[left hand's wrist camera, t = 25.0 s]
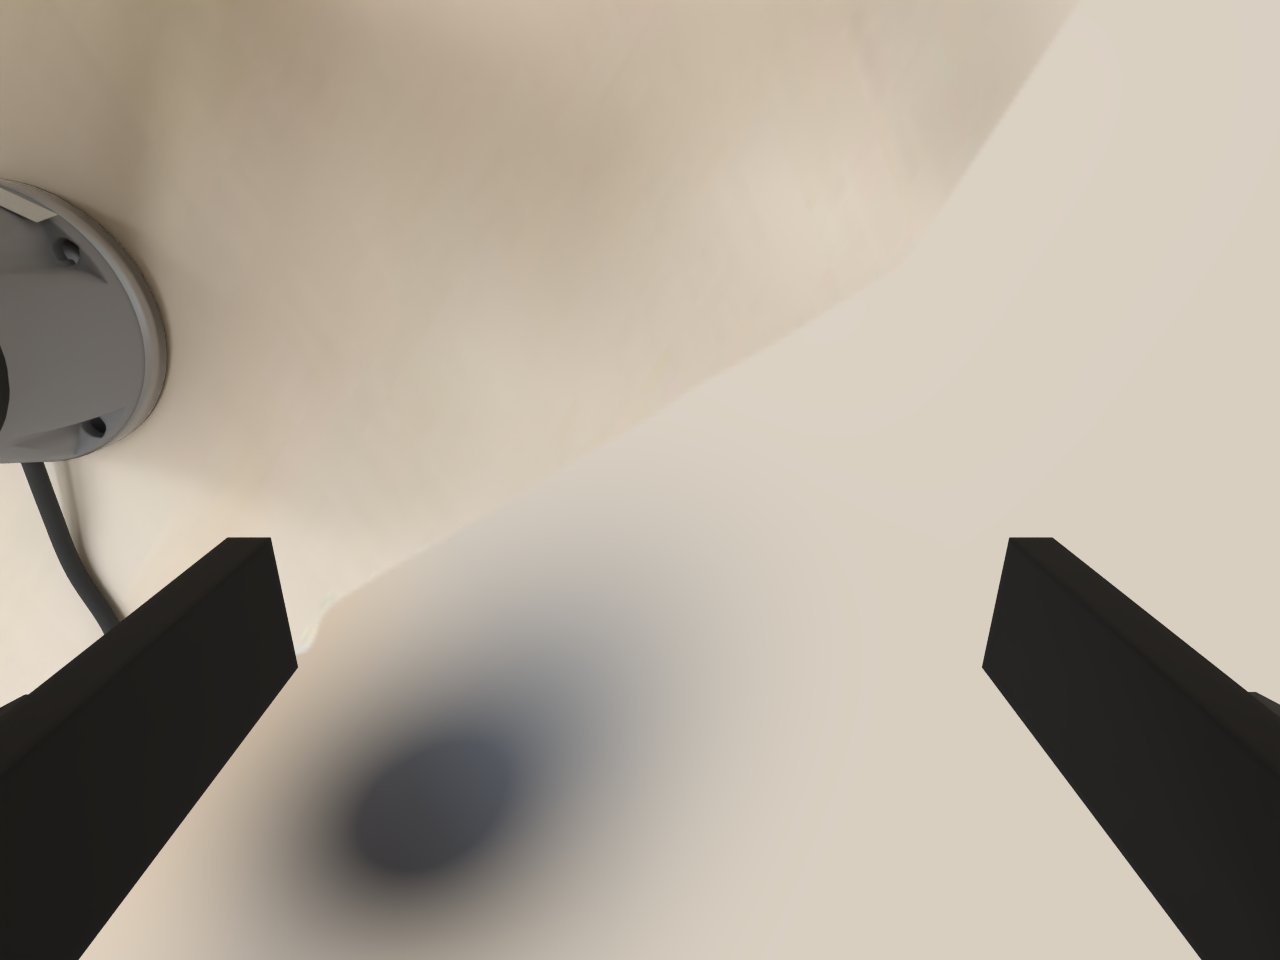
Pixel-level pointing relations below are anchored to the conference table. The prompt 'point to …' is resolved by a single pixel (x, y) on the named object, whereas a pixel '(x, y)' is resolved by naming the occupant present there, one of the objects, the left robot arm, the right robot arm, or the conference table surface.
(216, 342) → the conference table surface
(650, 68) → the conference table surface
